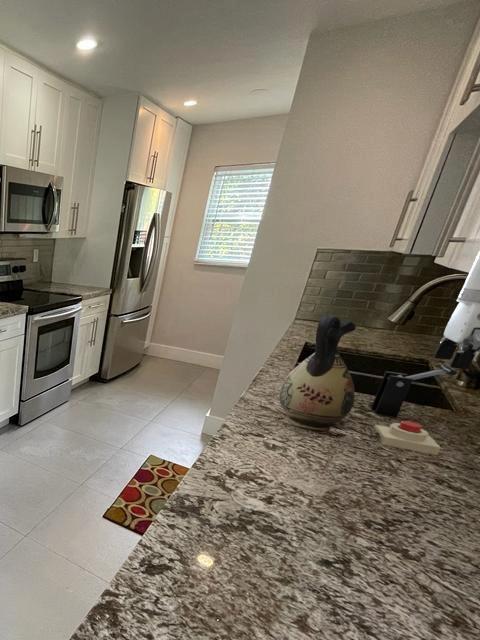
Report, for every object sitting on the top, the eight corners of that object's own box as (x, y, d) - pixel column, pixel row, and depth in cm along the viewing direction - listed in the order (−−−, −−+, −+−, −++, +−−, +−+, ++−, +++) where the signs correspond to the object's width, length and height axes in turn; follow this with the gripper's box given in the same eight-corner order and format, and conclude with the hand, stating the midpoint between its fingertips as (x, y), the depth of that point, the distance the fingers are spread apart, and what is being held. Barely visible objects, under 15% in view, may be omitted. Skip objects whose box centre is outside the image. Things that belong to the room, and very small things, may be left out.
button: (416, 429, 102) (418, 422, 102) (421, 434, 99) (424, 428, 99) (396, 425, 104) (399, 419, 103) (401, 431, 101) (404, 424, 100)
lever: (449, 370, 109) (446, 362, 109) (458, 376, 105) (455, 367, 105) (387, 383, 117) (385, 376, 116) (394, 389, 112) (391, 381, 112)
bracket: (403, 415, 119) (422, 374, 114) (416, 428, 111) (436, 384, 106) (350, 406, 124) (365, 366, 120) (358, 418, 116) (375, 376, 112)
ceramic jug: (291, 408, 122) (324, 308, 112) (354, 430, 109) (398, 319, 98) (256, 417, 116) (287, 312, 105) (318, 442, 103) (361, 325, 92)
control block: (424, 441, 104) (430, 427, 102) (437, 455, 97) (444, 440, 96) (372, 431, 109) (377, 418, 107) (381, 444, 102) (387, 430, 101)
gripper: (524, 304, 92) (487, 375, 98) (486, 294, 106) (455, 357, 112) (476, 300, 96) (443, 369, 102) (445, 291, 109) (417, 352, 116)
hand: (449, 363), depth 107 cm, fingers open, 9 cm apart
